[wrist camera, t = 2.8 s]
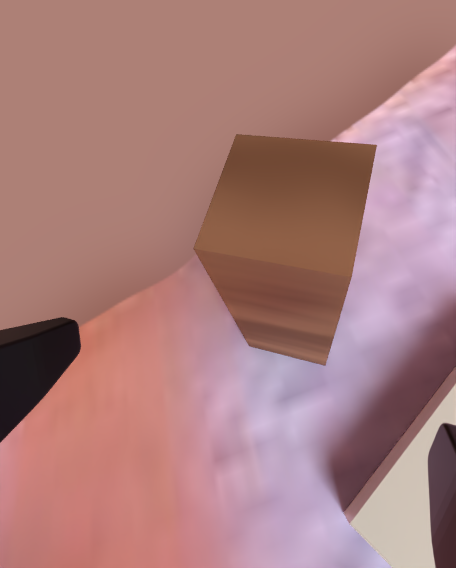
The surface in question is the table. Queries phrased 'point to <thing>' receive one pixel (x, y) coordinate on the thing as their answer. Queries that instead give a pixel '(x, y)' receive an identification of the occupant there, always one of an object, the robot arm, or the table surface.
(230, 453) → the table surface
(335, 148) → the brown wooden block
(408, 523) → the plate
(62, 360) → the robot arm
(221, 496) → the table surface
